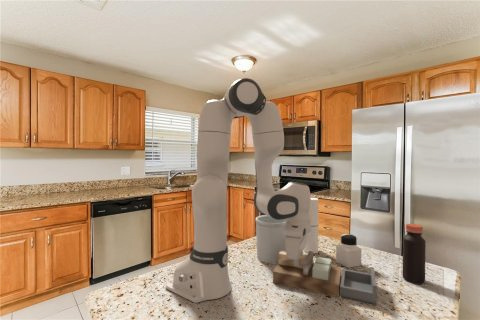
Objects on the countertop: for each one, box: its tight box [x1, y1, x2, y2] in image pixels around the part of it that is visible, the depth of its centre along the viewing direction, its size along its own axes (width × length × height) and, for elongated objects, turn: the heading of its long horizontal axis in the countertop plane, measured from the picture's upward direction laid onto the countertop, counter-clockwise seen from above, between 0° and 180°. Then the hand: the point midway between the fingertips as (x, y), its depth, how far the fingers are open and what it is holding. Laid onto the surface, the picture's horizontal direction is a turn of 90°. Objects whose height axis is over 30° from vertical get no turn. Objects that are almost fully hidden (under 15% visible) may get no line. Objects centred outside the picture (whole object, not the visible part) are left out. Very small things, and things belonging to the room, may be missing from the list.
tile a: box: [312, 262, 330, 280], centre depth 85 cm, size 5×5×3 cm
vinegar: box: [402, 223, 427, 285], centre depth 91 cm, size 7×7×20 cm
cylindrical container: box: [303, 197, 319, 254], centre depth 119 cm, size 7×7×25 cm
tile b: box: [314, 256, 332, 270], centre depth 91 cm, size 5×5×3 cm
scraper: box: [279, 251, 314, 275], centre depth 92 cm, size 12×12×4 cm
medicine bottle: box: [335, 233, 362, 269], centre depth 105 cm, size 7×7×12 cm
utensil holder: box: [255, 214, 286, 265], centre depth 110 cm, size 15×15×18 cm
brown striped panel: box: [272, 261, 342, 298], centre depth 90 cm, size 22×14×4 cm, turn 65°
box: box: [339, 266, 378, 306], centre depth 83 cm, size 10×14×6 cm
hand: (298, 263), depth 92 cm, fingers closed on scraper, 3 cm apart
